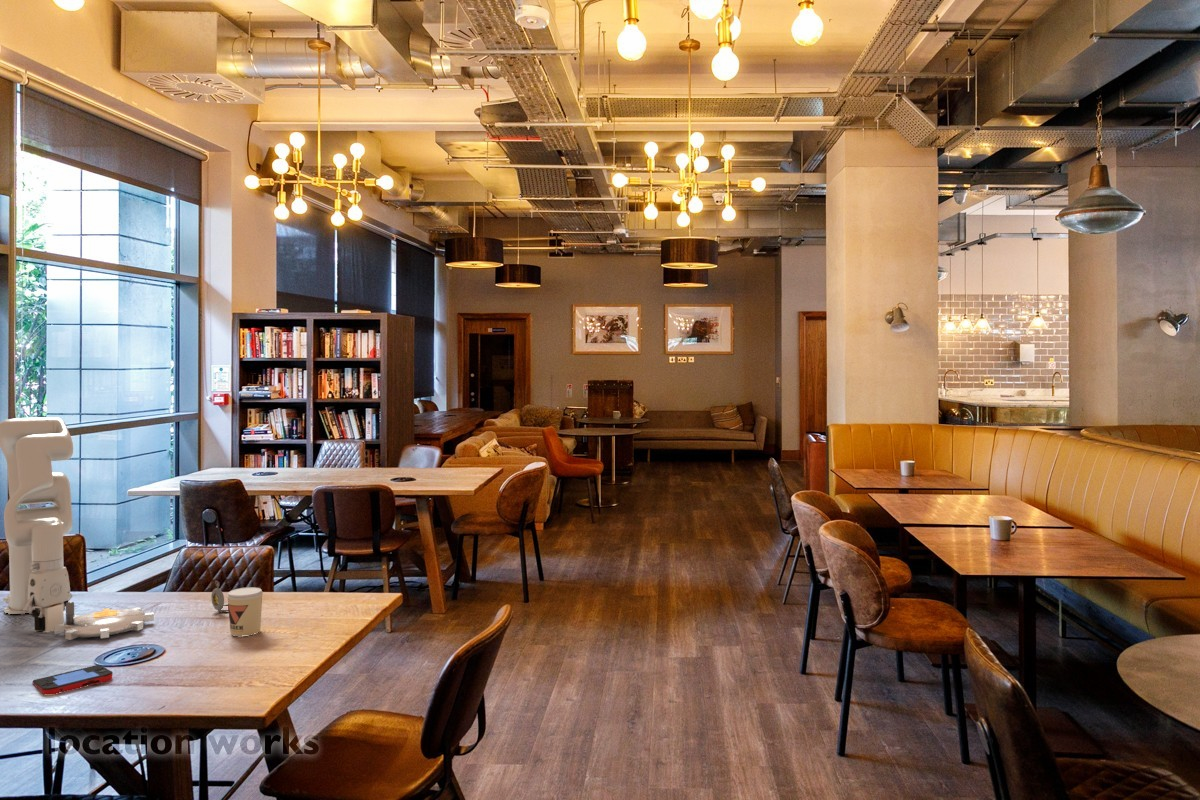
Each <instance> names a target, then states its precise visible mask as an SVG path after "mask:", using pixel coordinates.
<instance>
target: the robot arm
mask: <svg viewBox="0 0 1200 800" xmlns="http://www.w3.org/2000/svg"><path fill="white" fill-rule="evenodd" d="M0 450H1V451H2V454H3V456H4V458H5V460H6V469H7V483H8V494H9V499H8V501H7V502H6V505H5V507H4V512H3V524H4V536H5V540H6V542H7V546H8V556H9V557H8V558H9V559H8V560H9V563H8V564H9V594H7V596H6V597H3V598H2V601H3V602H4V603H8V605H7V606H5V607H4V609H3V613H4V612H5V613H4V614H6V613H8V614H7V615H10V614H21V615H26V614H25V613H29V614H28V615H30V616H31V617H32V618H33V627H34V626H35V631H34V632H36V631H45V617H43V614H44V608H45V607H48V606H52V605H55V604H58V603H59V604H60V603H61V604H63V612H64V611H66V603H67V602H70V600H71V599H72V598H73V594H72V593H71V587H70V585H71V584H70V579H69V578H70V577H69V572H68V570H67V567H66V566H64V536H65V535H67V534H69V533H70V532H71V531H72V529H73V522H74V521H73V507H72V494H71V486H70V481H69V478H68V476H67V475H66V474H64V473H63V472H59V471H58V472H53V466H52V465H53V464H52V462H59V461H67V460H70V459H71V458H72V456H73V453H74V443H73V440H72V435H71V434H70V431H69V429H68V427H67V425H66V423H65V421H64V420H63V419H62V418H61V417H56V416H54V417H51V416H50V417H49V416H48V417H47V416H46V417H15V418H8V419H4V420H2V421H0ZM47 503H51V504H52V505H53V506H45V507H43V506H42V507H33V508H32V507H31V508H30V507H29V508H23V509H22V508H21V509H18V507H19V505H35V504H37V505H38V504H47ZM38 608H40V609H39V612H38Z"/></svg>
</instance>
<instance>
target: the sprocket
mask: <svg viewBox="0 0 1200 800" xmlns="http://www.w3.org/2000/svg"><path fill="white" fill-rule="evenodd" d="M154 617H155V616H154V611H153V612H144V611H143V608H142V607H133V608H131V609H130V608H129V609H125V608H124V609H111V608H109V607H108V608H103V609H101V611H95V612H89V613H86V614H82V615H78V614H77V615H76V614H75V602H74V601H68V602H67V603H66V606H65V623H64V624H58V625H55V626H54V631H53V632H54V635H57V634H64V639H65V640H70V641H71V640H75V639H77V638H95V637H96V638H97V637H99V638H100V639H108V638H110V636H111V635H116V634H117V635H118V634H122V633H126V632H128V631H137V632H138V631H140V630H143V629H144V624H145V623H146V622H153V621H155V620H154V619H155V618H154Z"/></svg>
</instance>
